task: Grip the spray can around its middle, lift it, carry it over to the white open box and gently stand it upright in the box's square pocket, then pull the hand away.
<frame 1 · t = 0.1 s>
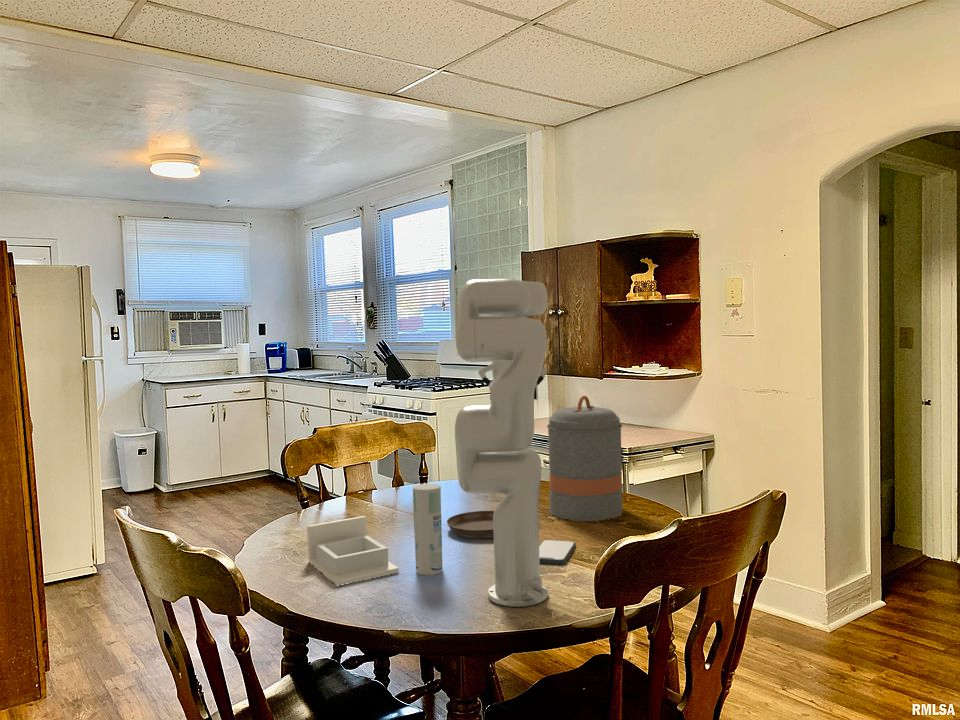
hand: (513, 402, 184), 37 cm above the table, tool pointing down, fingers open, 9 cm apart
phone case: (553, 556, 181), on the table
plant saucer: (483, 531, 203), on the table
white open box: (352, 567, 175), on the table
storage container: (586, 511, 220), on the table
spray can: (429, 571, 171), on the table
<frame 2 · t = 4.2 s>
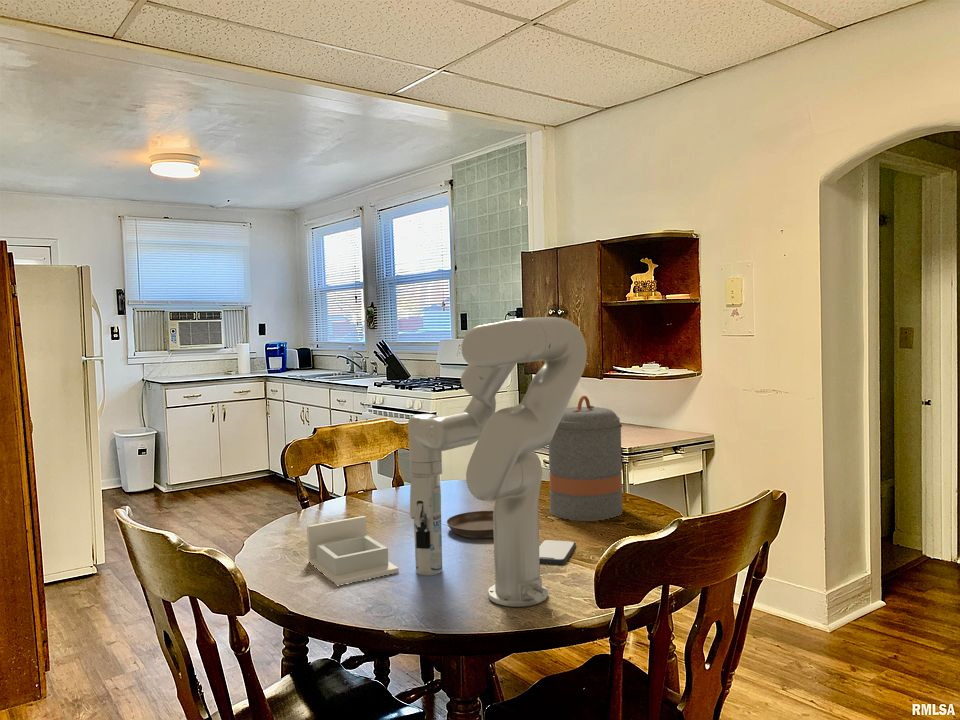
hand: (428, 542, 170), 7 cm above the table, tool pointing down, fingers closed on spray can, 6 cm apart
spray can: (429, 571, 171), on the table, touching gripper
everything else where it was.
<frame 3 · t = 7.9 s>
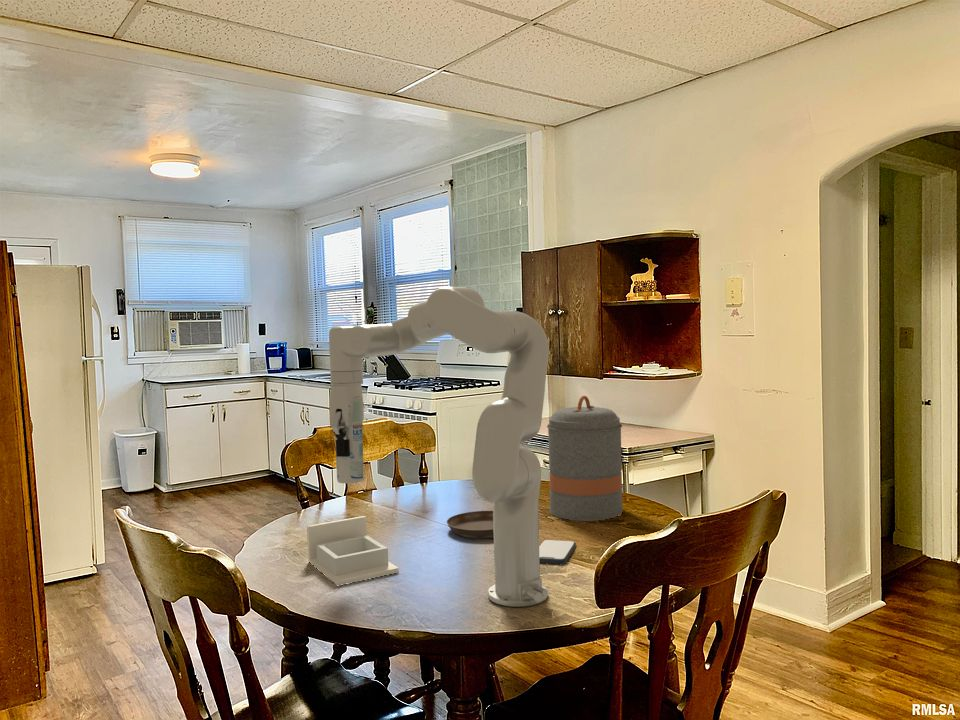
hand: (349, 452, 173), 28 cm above the table, tool pointing down, fingers closed on spray can, 6 cm apart
spray can: (350, 481, 173), point 21 cm above the table, touching gripper
everything else where it was.
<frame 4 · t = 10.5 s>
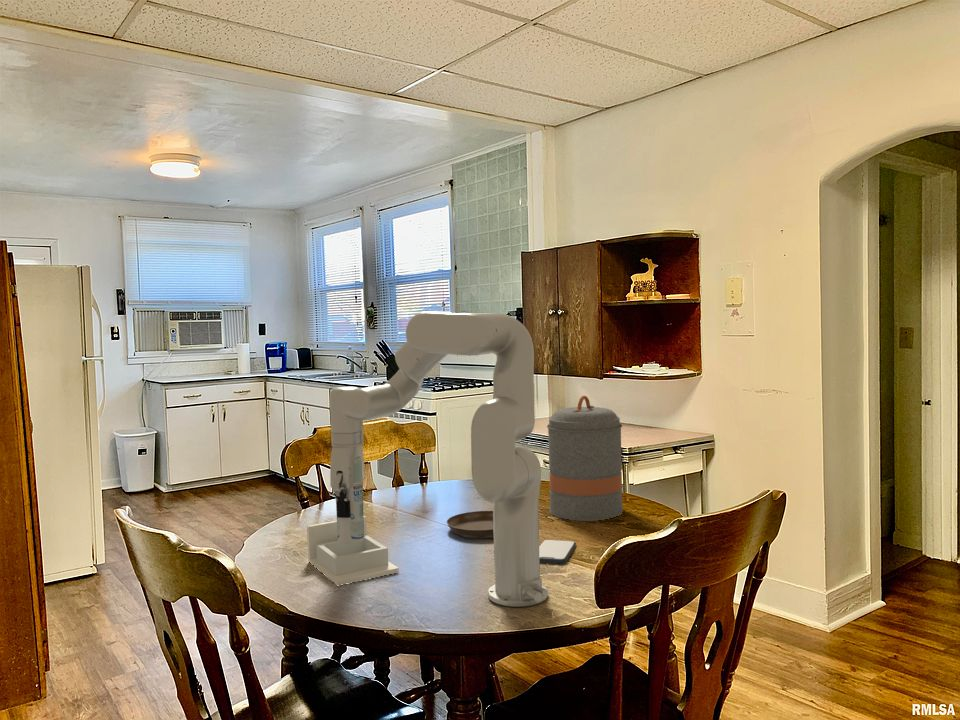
hand: (350, 512, 174), 13 cm above the table, tool pointing down, fingers closed on spray can, 6 cm apart
spray can: (351, 540, 174), point 7 cm above the table, touching gripper
everything else where it was.
when the fingers open (9 cm above the table, at t = 12.0 s): spray can drops 1 cm, resting on white open box.
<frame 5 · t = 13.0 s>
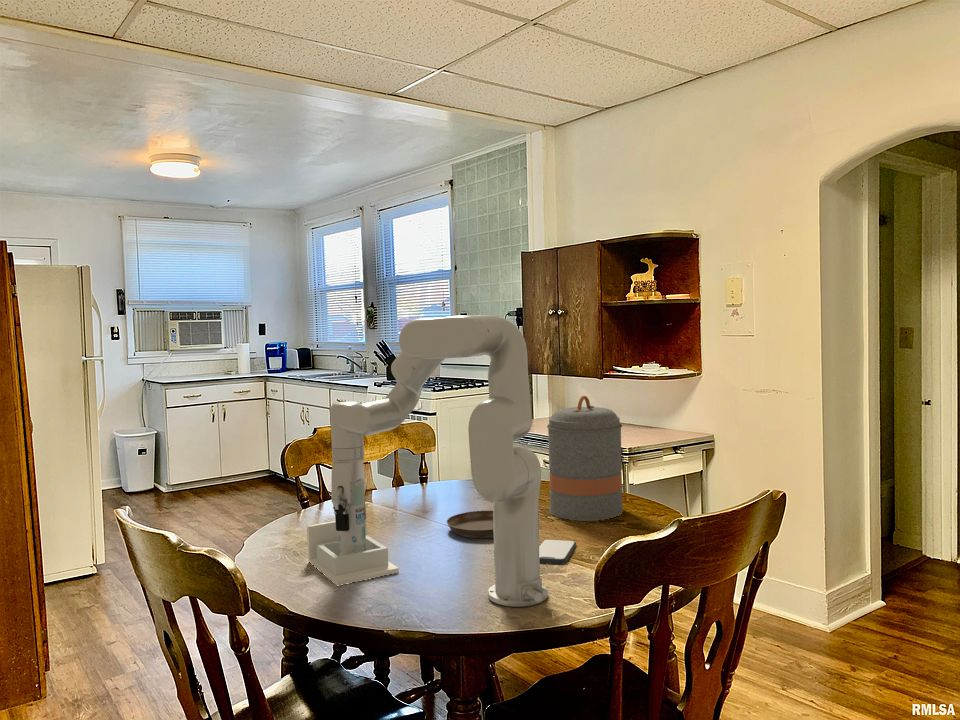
hand: (351, 524, 174), 10 cm above the table, tool pointing down, fingers open, 9 cm apart
spray can: (353, 563, 175), point 1 cm above the table, touching white open box
everything else where it was.
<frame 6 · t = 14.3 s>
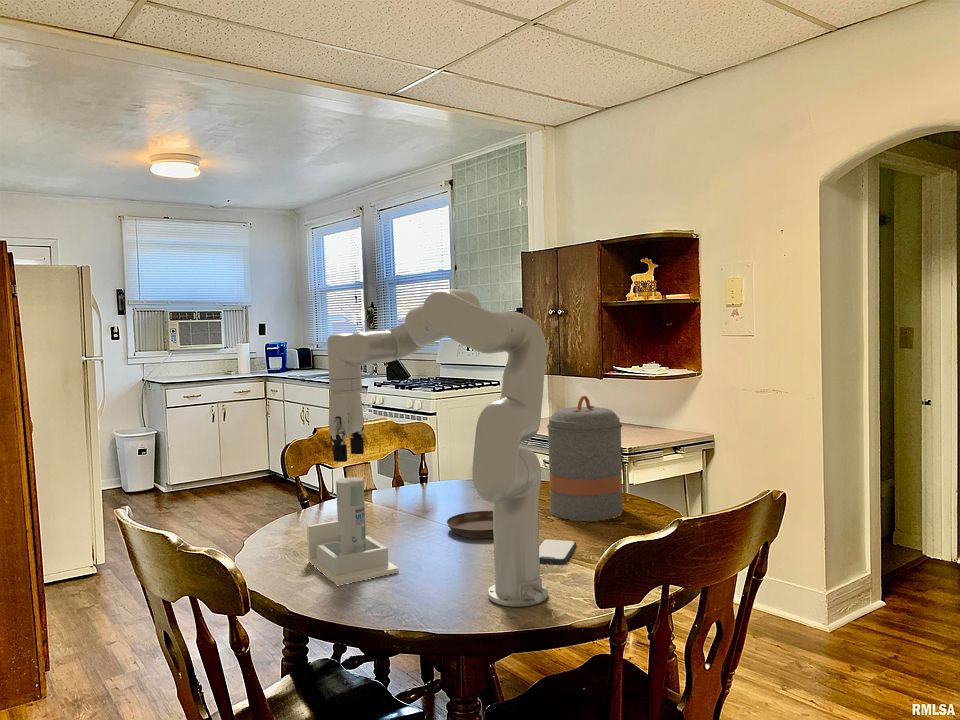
hand: (349, 457, 173), 27 cm above the table, tool pointing down, fingers open, 9 cm apart
nothing on the table moved.
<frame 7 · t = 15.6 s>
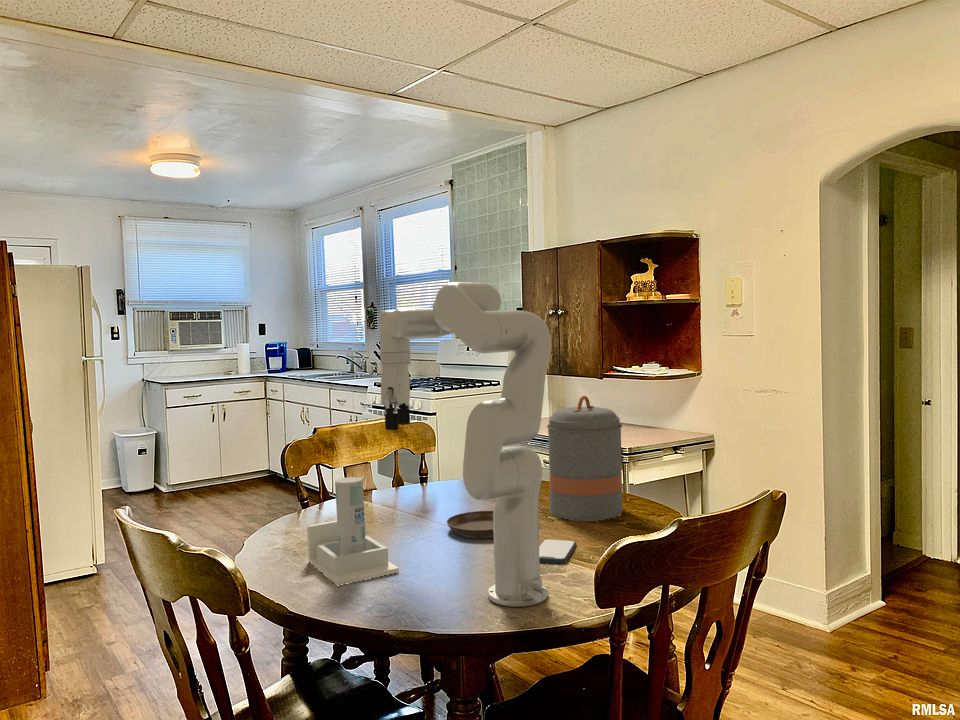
hand: (398, 426, 184), 32 cm above the table, tool pointing down, fingers open, 9 cm apart
nothing on the table moved.
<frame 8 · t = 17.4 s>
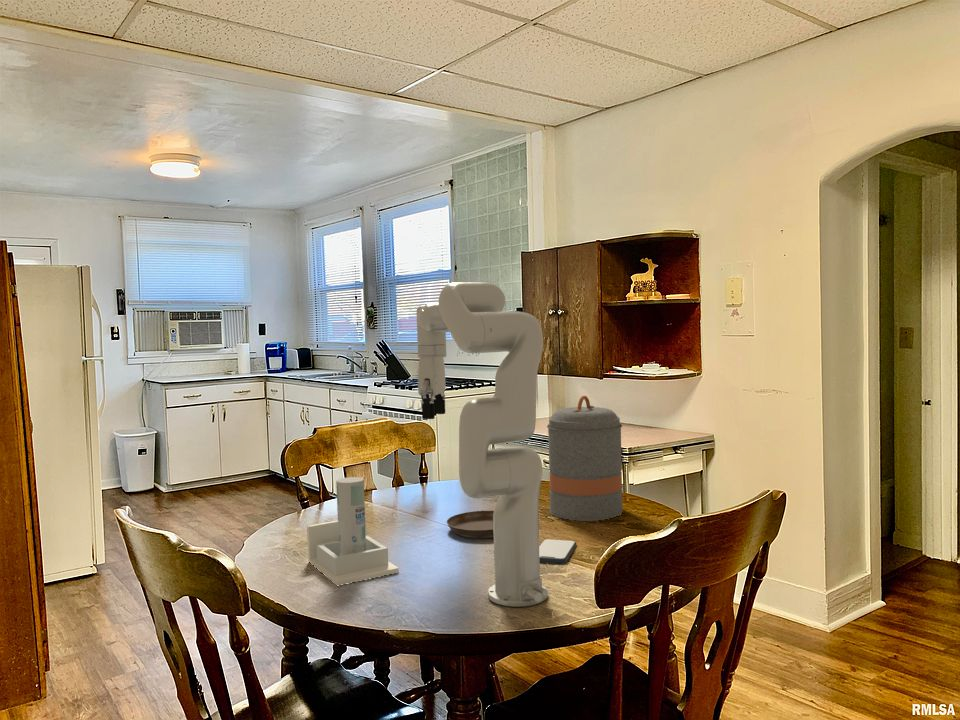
hand: (434, 416, 193), 33 cm above the table, tool pointing down, fingers open, 9 cm apart
nothing on the table moved.
at the end: spray can 0.1 cm off-centre on the white open box, point 1.0 cm above the white open box's base; spray can tilted 0°; the gripper is holding nothing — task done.
